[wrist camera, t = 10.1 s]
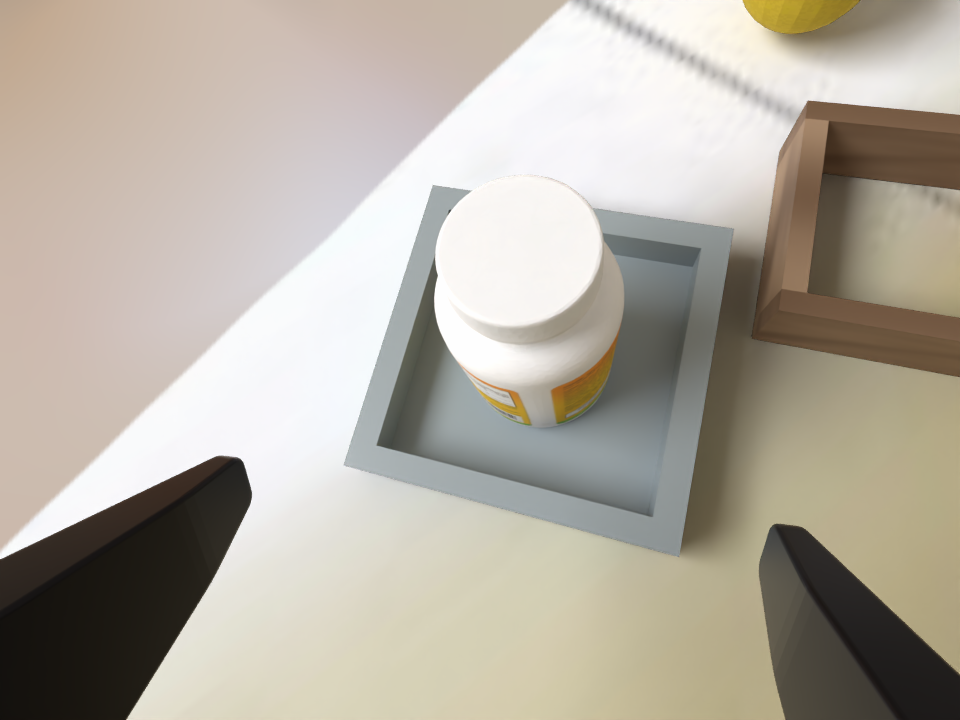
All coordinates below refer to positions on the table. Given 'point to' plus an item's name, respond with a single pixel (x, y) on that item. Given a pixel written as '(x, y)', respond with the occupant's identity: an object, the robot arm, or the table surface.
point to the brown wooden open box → (788, 251)
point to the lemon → (797, 13)
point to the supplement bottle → (529, 298)
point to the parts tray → (590, 437)
